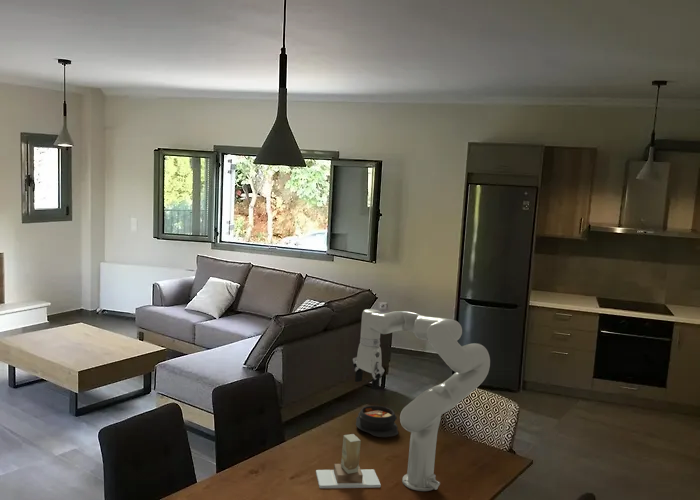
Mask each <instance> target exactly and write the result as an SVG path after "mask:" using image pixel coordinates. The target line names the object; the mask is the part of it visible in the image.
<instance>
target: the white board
mask: <svg viewBox="0 0 700 500" xmlns="http://www.w3.org/2000/svg"><path fill="white" fill-rule="evenodd" d="M361 472H362V474H363V479H362V483H337V480H336V477H335V474H334V469H316V470H315V475H316V480H317V483H318V487H319V489H359V488H361V489H362V488H363V489H364V488H367V489H368V488H370V489H371V488H373V489H374V488H375V489H376V488H381V486H382V485H381V482H380V479H379V477H378V475H377V473H376V470H375V469H374V468H373V469H372V468H371V469H366V468H365V469H361Z"/></svg>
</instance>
